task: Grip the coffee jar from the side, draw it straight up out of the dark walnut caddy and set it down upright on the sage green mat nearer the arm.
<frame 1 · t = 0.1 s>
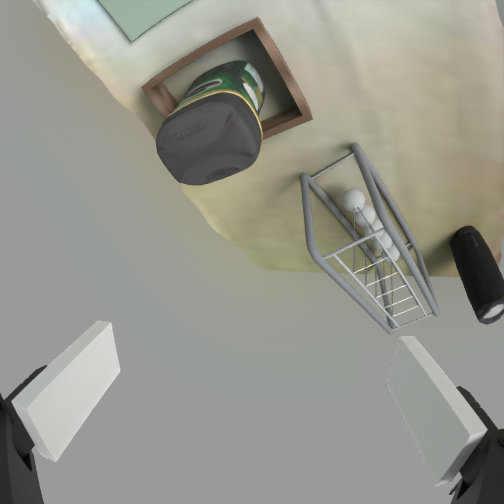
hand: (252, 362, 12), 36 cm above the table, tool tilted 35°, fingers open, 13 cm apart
walnut caddy: (229, 89, 36), on the table
portable speaker: (463, 237, 53), on the table
coffee jar: (229, 89, 37), resting in walnut caddy
newton's cradle: (368, 211, 51), on the table
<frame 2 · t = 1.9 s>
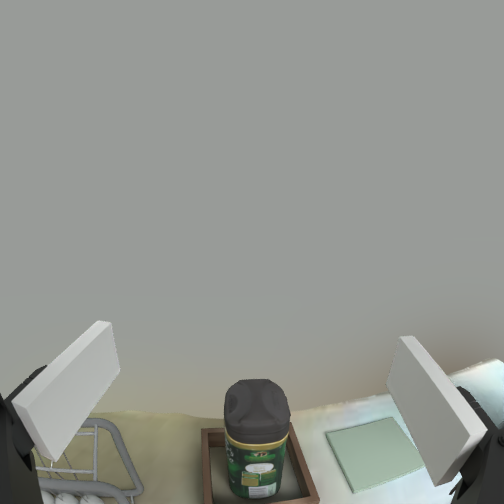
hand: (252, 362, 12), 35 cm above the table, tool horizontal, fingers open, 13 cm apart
walnut caddy: (253, 477, 36), on the table
sage mat: (375, 452, 39), on the table
coffee jar: (253, 478, 36), resting in walnut caddy
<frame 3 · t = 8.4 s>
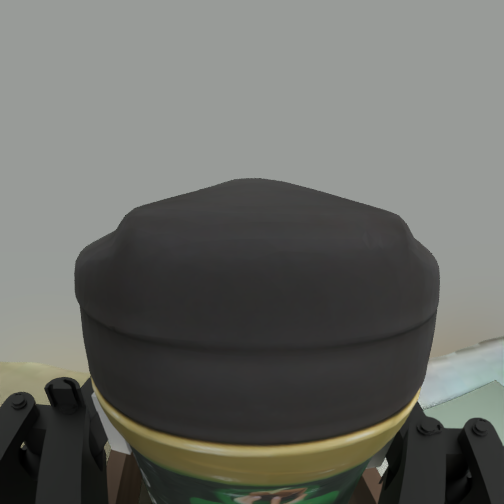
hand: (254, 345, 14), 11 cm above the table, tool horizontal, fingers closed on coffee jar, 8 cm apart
sage mat: (493, 444, 14), on the table
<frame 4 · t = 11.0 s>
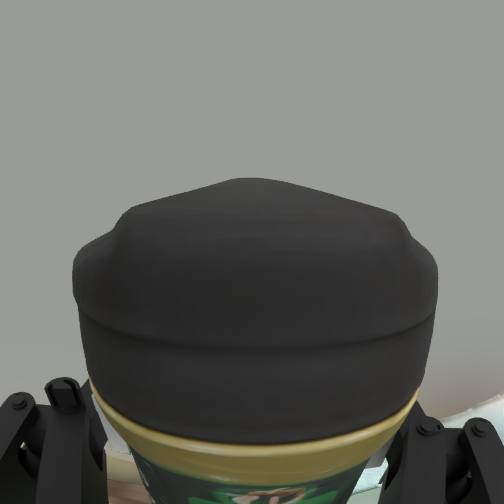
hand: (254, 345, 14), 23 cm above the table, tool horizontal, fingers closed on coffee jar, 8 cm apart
when the fingers open (13 cm above the table, at t = 13.9 s): coffee jar drops 1 cm, resting on sage mat.
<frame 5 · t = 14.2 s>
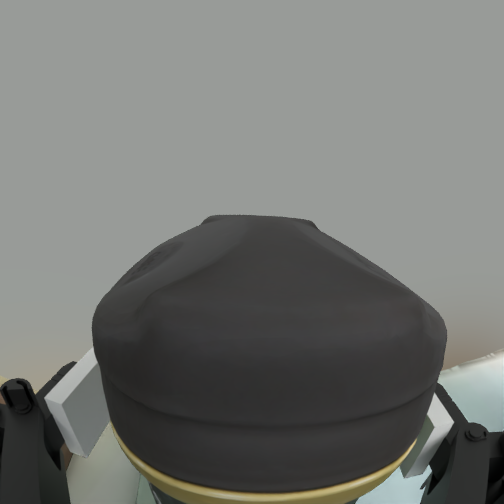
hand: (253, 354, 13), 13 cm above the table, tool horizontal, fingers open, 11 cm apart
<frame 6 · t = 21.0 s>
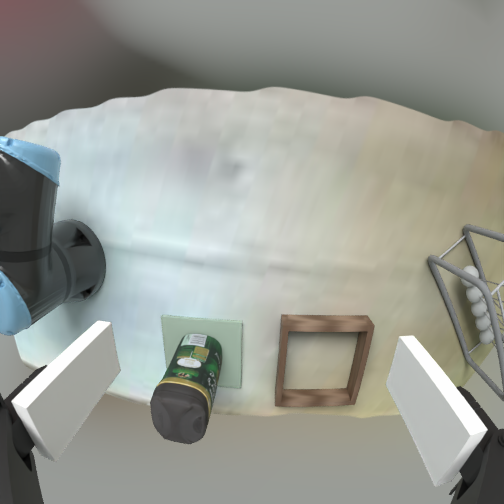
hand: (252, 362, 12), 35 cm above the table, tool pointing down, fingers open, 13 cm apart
walnut caddy: (319, 357, 51), on the table
sage mat: (202, 352, 51), on the table
coffee jar: (202, 354, 51), point 1 cm above the table, touching sage mat
newton's cradle: (467, 299, 47), on the table
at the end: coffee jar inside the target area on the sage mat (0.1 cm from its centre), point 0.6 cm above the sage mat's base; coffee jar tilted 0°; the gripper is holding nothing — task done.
